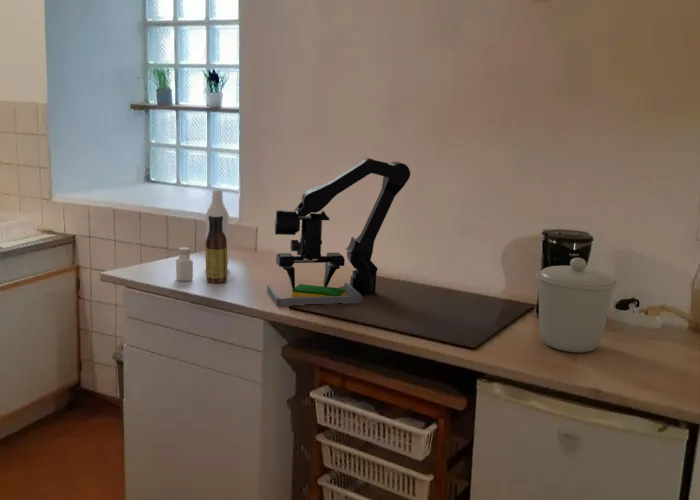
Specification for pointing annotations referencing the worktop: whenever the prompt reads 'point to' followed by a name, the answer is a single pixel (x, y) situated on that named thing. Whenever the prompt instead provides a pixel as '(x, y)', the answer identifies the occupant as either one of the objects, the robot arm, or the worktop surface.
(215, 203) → the water bottle
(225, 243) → the sauce bottle
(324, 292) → the dish sponge
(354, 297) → the box
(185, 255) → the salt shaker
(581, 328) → the canister
